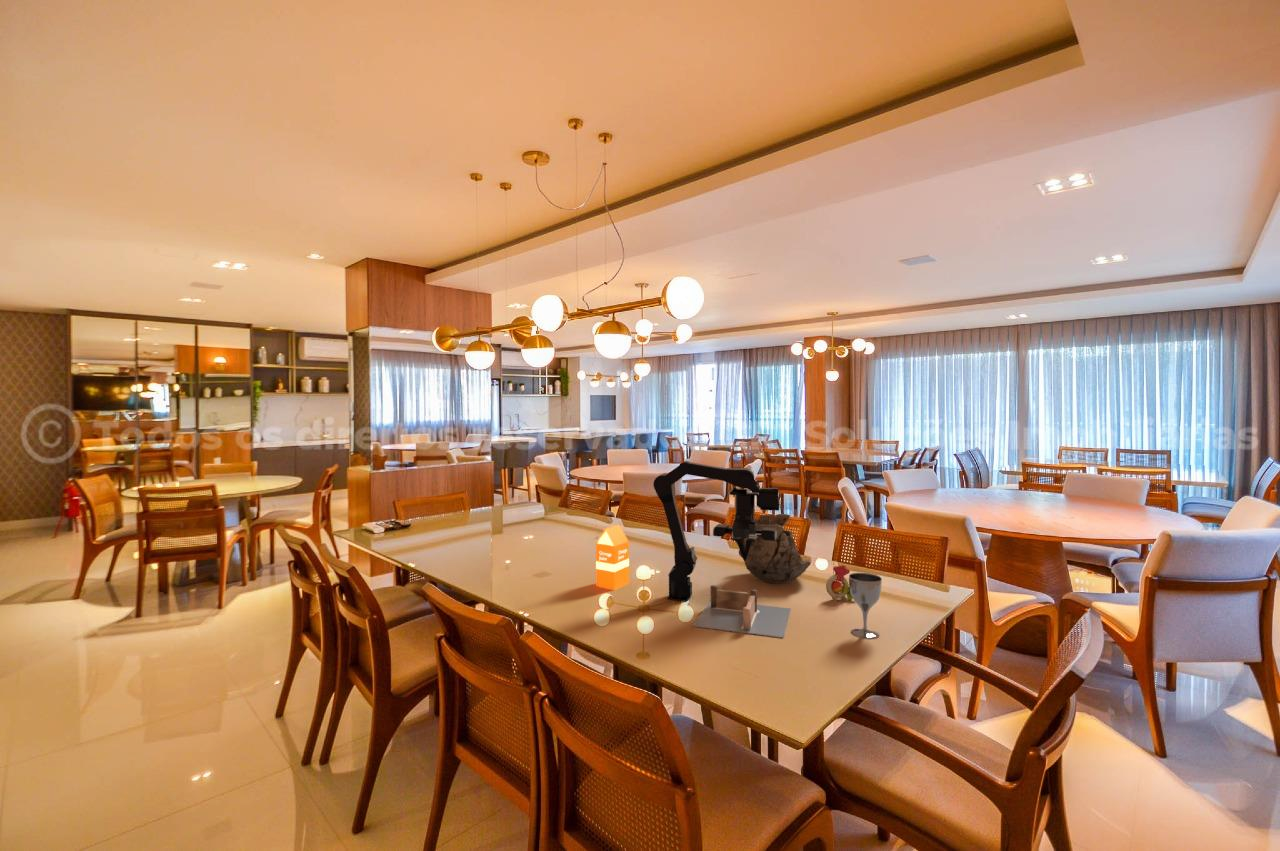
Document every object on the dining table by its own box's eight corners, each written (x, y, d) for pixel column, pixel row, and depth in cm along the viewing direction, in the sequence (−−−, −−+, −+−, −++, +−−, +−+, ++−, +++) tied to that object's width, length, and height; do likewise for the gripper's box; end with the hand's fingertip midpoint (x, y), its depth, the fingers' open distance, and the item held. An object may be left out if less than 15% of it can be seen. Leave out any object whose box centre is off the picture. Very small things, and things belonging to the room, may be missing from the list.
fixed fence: (710, 608, 166) (710, 587, 166) (711, 606, 168) (711, 585, 168) (756, 614, 162) (756, 591, 161) (757, 611, 163) (757, 589, 163)
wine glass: (880, 629, 149) (880, 574, 149) (882, 641, 142) (882, 582, 141) (848, 626, 152) (848, 571, 152) (849, 637, 145) (849, 580, 144)
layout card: (692, 626, 153) (692, 625, 153) (710, 600, 173) (710, 599, 173) (783, 638, 144) (783, 636, 144) (790, 609, 165) (790, 608, 165)
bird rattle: (841, 610, 170) (864, 595, 172) (828, 578, 168) (851, 564, 171) (828, 603, 176) (851, 589, 178) (816, 572, 174) (838, 559, 177)
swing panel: (749, 611, 162) (749, 593, 161) (756, 612, 161) (756, 594, 161) (742, 628, 149) (742, 609, 149) (750, 629, 148) (750, 609, 148)
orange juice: (629, 583, 191) (629, 525, 191) (614, 590, 184) (614, 529, 183) (610, 579, 196) (610, 522, 195) (595, 586, 188) (595, 527, 188)
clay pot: (738, 568, 208) (737, 510, 207) (803, 570, 205) (803, 512, 204) (740, 589, 183) (740, 524, 183) (815, 592, 180) (815, 526, 179)
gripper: (708, 512, 167) (708, 563, 168) (772, 516, 161) (772, 569, 161) (717, 506, 178) (717, 554, 178) (777, 509, 171) (777, 560, 171)
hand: (744, 559), depth 172 cm, fingers closed
